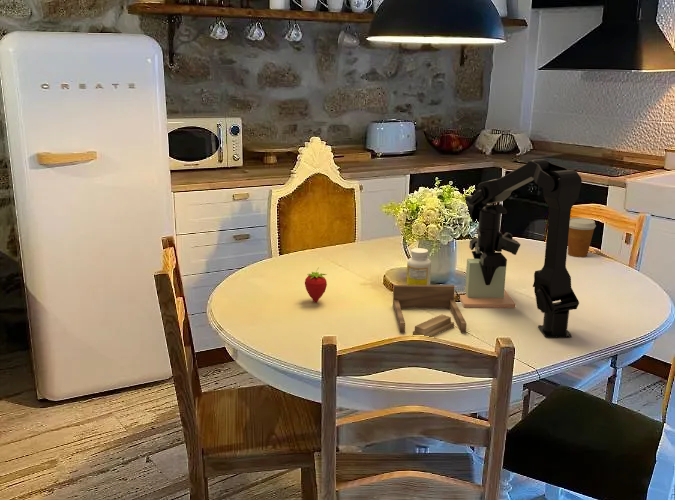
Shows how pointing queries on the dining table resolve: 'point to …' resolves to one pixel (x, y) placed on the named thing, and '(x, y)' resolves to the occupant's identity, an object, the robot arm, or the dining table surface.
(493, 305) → the tile
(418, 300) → the rack
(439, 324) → the offcut stack
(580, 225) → the disposable coffee cup
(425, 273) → the supplement bottle
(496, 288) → the sage green square block
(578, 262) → the dining table surface
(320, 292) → the strawberry
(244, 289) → the dining table surface
